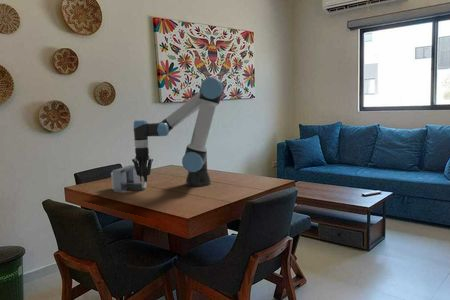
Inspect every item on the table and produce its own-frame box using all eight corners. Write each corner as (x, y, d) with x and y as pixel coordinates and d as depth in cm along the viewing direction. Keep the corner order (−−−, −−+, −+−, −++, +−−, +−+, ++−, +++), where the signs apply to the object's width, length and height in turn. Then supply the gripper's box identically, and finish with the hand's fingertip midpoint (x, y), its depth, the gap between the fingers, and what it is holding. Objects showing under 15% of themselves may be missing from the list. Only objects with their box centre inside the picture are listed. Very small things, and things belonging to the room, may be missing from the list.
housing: (140, 185, 231) (138, 165, 229) (122, 192, 214) (120, 170, 212) (131, 185, 233) (129, 165, 231) (113, 192, 216) (111, 170, 215)
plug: (145, 188, 222) (144, 172, 221) (141, 190, 217) (140, 173, 216) (116, 187, 229) (115, 171, 228) (111, 189, 224) (110, 172, 223)
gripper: (154, 146, 218) (157, 186, 220) (135, 146, 222) (138, 185, 225) (148, 147, 211) (150, 189, 213) (128, 147, 215) (131, 188, 218)
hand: (144, 187), depth 219 cm, fingers closed
